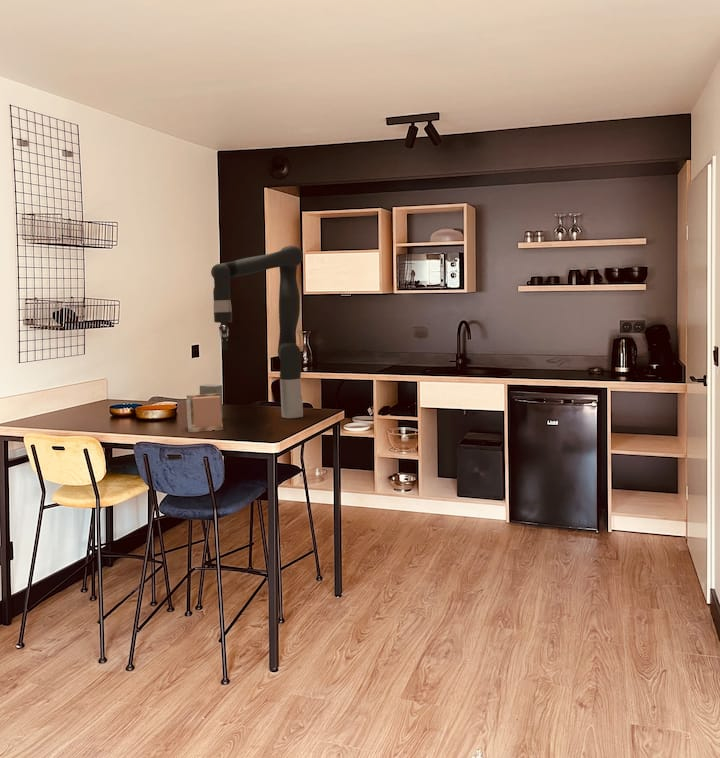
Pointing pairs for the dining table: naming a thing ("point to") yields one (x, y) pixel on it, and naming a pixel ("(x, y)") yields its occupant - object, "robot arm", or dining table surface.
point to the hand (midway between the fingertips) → (224, 349)
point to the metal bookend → (189, 413)
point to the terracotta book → (207, 411)
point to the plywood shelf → (193, 415)
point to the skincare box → (211, 390)
